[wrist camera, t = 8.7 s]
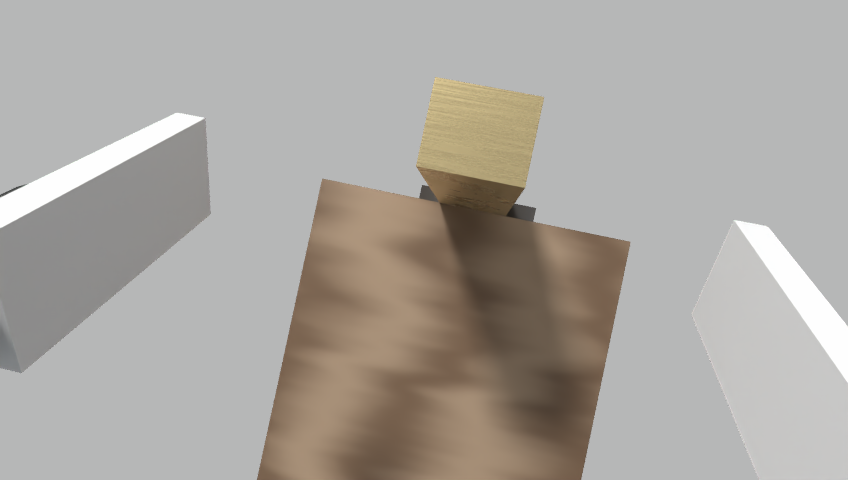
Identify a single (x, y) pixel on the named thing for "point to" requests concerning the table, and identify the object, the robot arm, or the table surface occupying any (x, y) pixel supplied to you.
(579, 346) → the walnut stand
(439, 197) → the light wood bar
